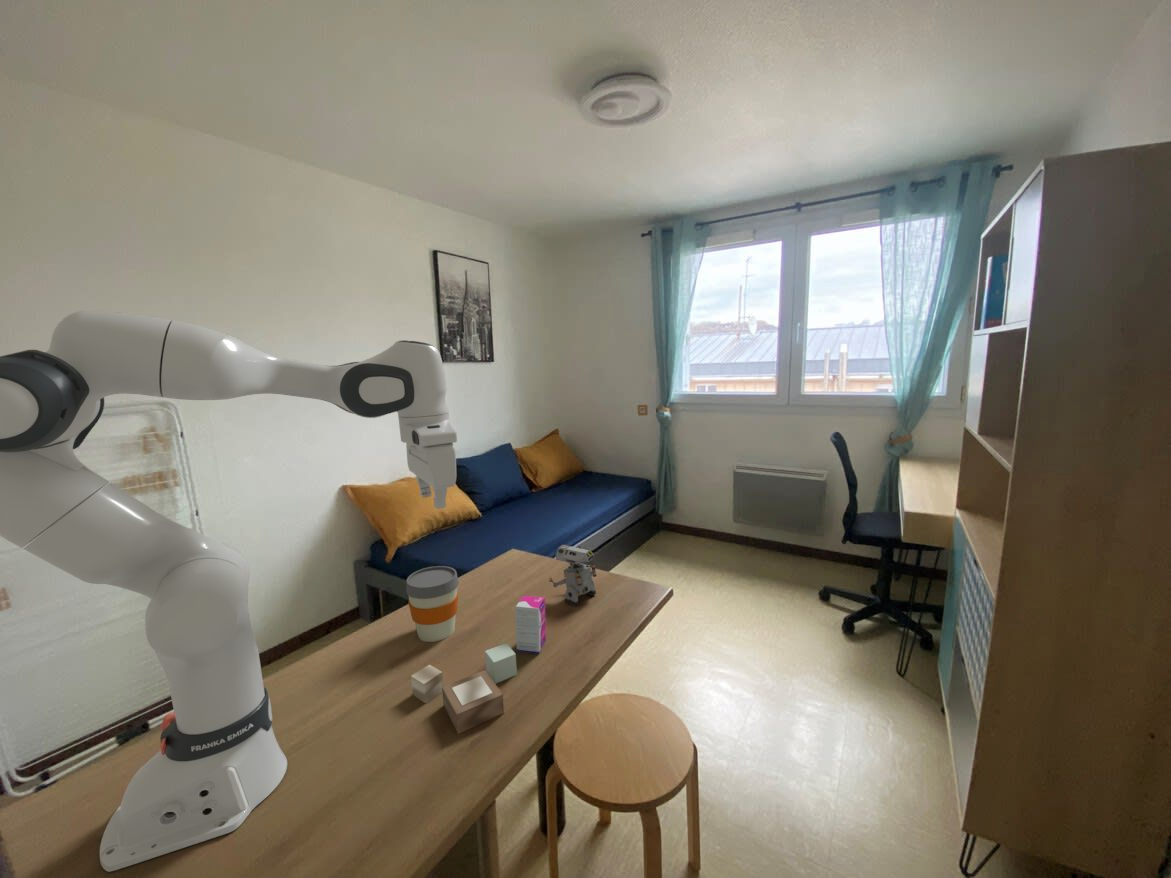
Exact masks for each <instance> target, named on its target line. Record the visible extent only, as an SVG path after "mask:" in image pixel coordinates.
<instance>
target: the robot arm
mask: <svg viewBox="0 0 1171 878" xmlns="http://www.w3.org/2000/svg"><path fill="white" fill-rule="evenodd" d="M446 392H447V383H446V374H445V368H444V364H443V360H442V356H441V353H440V351H439V350H438V348H437V347H435V346H434V345H433V344H431V343H427V342H423V341H422V342H421V341H416V340H398V341H395V342H394V343H393V345H391V346H389V347H388V348H387V349H385V350H383V351H382V352H380V353H378V354H376V355H373V356H372V357H369V358H367V359H364V360H362V361H354V362H348V363H343V364H340V365H325V364H318V363H312V362H307V361H301V360H296V359H289V358H285V357H280V356H276V355H273V354H270V353H267V352H265V351H262V350H260V349H258V348H255V347H254V346H252V345H250V344H248V343H246V342H245V341H242V340H241V339H239V338H237V337H235V336H233V335H230V334H227V333H224V332H222V331H218V330H216V329H212V328H209V327H206V326H203V325H198V324H195V323H191V322H185V321H182V320H177V319H170V318H165V317H159V316H152V315H145V314H138V313H128V312H118V311H117V312H116V311H104V310H81V311H76V312H73V313H70V314H68V315H66V316H65V317H64V318H62V320H60V321H59V323H58V324H57V325H56V327H55V328H54V330H53V333H52V336H51V340H50V345H49V348H48V349H47V351H46V352H44V351H42V350H38V349H27V350H22V351H18V352H13V353H9V354H5V355H1V356H0V537H1V538H4V540H6V541H8V542H10V543H12V544H14V545H15V546H18V547H19V548H21V549H22V548H23V550H25V551H27V552H28V553H30V554H31V555H34V556H36V557H38V558H39V559H42V560H44V562H47V563H48V564H50V565H52V566H55V567H56V568H58V569H60V570H62V571H64V572H65V573H67V574H69V575H71V576H73V577H75V578H77V579H78V580H81V581H82V582H85V583H88V584H93V585H108V586H113V587H116V588H120V589H121V588H122V589H123V590H128V591H131V592H135V593H138V594H140V595H142V596H144V597H145V596H146V597H147V598H149V599H150V601H149V603H148V605H147V608H146V611H145V616H144V619H145V620H144V623H145V624H144V625H145V626H144V627H145V635H146V639H147V642H148V644H149V646H150V647H151V648H152V650H154V651H155V654H156V655H155V656H156V657H157V659H158V661H159V663H160V666H161V668H162V669H163V672H164V674H165V677H166V679H167V683H168V687H169V692H170V697H171V701H172V707H173V708H172V709H173V712H169V713H167V714H166V715H165V716H164V717H163V718H162V723H161V725H160V728H161V734H160V739H159V740H160V746H159V748H160V750H159V751H157V753H156V754H155V755H153V757H151V758H150V759H149V760H148V761H147V762H146V763H145V764H143V765H142V766H141V767H140V768H139V769H138V770H137V771H136V772H135V773H134V775H133V777H132V778H131V780H130V781H129V783H128V785H127V787H126V788H125V791H124V793H123V796H122V800H121V803H120V805H119V807H118V808H117V809H116V810H115V812H114V813H113V815H112V816H111V818H110V820H108V823H107V825H106V828H105V829H104V832H103V835H102V838H101V842H100V846H99V862H100V866H101V867H102V869H103V870H104V871H106V872H108V873H110V872H114V871H118V870H121V869H123V868H127V867H130V866H133V865H136V864H139V863H143V862H145V861H148V860H151V859H154V858H157V857H161V856H164V855H166V854H170V853H172V852H175V851H178V850H181V849H184V848H187V847H190V846H193V845H197V844H199V843H202V842H206V841H208V840H211V839H215V838H217V837H221V836H224V835H226V834H229V833H232V832H234V831H235V830H237V829H238V828H239V827H240V826H241V825H242V824H243V822H244V821H245V820H246V819H247V817H249V815H250V813H251V812H252V811H253V810H254V809H255V808H256V807H257V806H258V805H259V804H260V803H262V802H263V801H264V800H265V799H267V797H268V796H269V795H270V794H272V793H273V791H275V789H276V788H277V787H278V786H279V784H280V783H281V782H282V780H283V779H284V776H285V774H286V772H287V769H288V759H287V757H286V755H285V753H284V752H283V750H282V749H281V747H280V745H279V743H278V740H277V738H276V735H275V733H274V729H273V726H272V724H273V722H272V721H273V711H272V704H271V697H270V696H269V692H268V690H267V688H266V687H265V686H264V680H263V672H262V665H261V660H260V654H259V648H258V645H257V642H256V639H255V635H254V632H253V631H254V630H253V627H252V621H251V617H250V611H249V580H250V567H249V564H248V562H247V560H246V559H245V557H244V555H243V554H242V553H241V551H239V550H238V549H237V548H236V547H234V546H233V545H230V544H228V543H225V542H219V541H217V540H215V539H213V538H211V537H209V536H208V535H205V534H202V533H200V532H198V531H196V530H193V529H191V528H189V527H187V526H185V525H182V524H180V523H178V522H176V521H173V520H171V518H168V517H166V516H164V515H162V514H161V513H159V512H157V511H156V510H154V509H153V508H151V507H150V506H148V505H146V504H145V503H143V502H142V501H140V500H139V499H137V498H135V496H132V495H131V494H129V493H127V492H126V491H124V490H123V489H122V488H120V487H118V486H117V485H115V484H113V483H112V482H110V480H108V479H106V478H104V477H103V476H101V475H100V474H98V473H97V472H95V471H93V470H92V469H90V468H89V467H87V466H86V465H85V464H84V463H82V462H81V461H80V460H79V459H78V458H77V456H76V455H75V451H74V450H76V449H77V448H80V446H81V445H82V443H83V442H84V441H85V439H86V438H87V436H88V435H89V434H90V432H91V431H92V429H93V428H94V427H95V426H96V424H98V421H99V420H100V418H101V416H102V414H103V412H104V409H105V397H108V396H113V395H119V394H122V395H123V394H126V395H128V394H129V395H139V396H140V395H142V396H149V397H158V398H166V399H174V400H185V401H186V400H187V401H220V400H231V399H235V398H241V397H246V396H252V395H263V394H264V395H265V394H267V395H269V394H272V395H282V396H283V395H284V396H291V397H297V398H298V397H299V398H305V399H313V400H320V401H325V402H327V403H329V404H333V405H335V406H336V407H338V408H340V409H342V410H343V411H345V412H347V413H350V414H353V415H355V416H358V417H361V418H366V419H376V418H380V417H384V416H386V415H389V414H393V413H397V417H398V423H399V425H398V427H399V434H400V442H402V443H403V444H404V443H406V444H405V445H406V459H407V460H406V461H407V462H406V463H407V467H408V470H409V472H411V473H412V474H414V475H416V480H417V484H418V486H419V493H420V496H421V497H422V498H429V497H431V496H432V491H433V495H434V496H433V506H434V507H435V508H436V509H437V510H441V509H445V508H446V506H447V501H446V499H447V493H448V488H451V487H454V486H455V485H456V482H457V458H456V457H457V456H456V454H457V453H456V447H455V444H454V443H457V442H458V435H457V431H456V429H455V428H454V427H453V426H452V423H451V420H450V414H449V408H448V406H447V403H446V394H447V393H446ZM431 487H432V488H431Z"/></svg>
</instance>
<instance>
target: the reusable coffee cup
mask: <svg viewBox="0 0 1171 878" xmlns="http://www.w3.org/2000/svg"><path fill="white" fill-rule="evenodd" d="M406 578H407V579H406V595H407V596H408V607H409V612H410V615H411V619H412V621H413V622H414V623H415V624H414V625H415V629H416V633H417V636H418V638H419V640H420V641H423V642H429V643H430V642H431V643H432V642H439V641H443V640H444V639H446V638H448V637H450V636H451V635H453V634H454V632H455V628H456V615H457V613H458V610H459V609H458V605H459V591H458V586H459V584H460V582H459V578H458V573H457V570H456V569H455V568H453V567H451V566H445V565H441V566H440V565H437V566H428V567H424V568H421V569H418V570H416V571H414V572H412V573H411V574H410V575H409V576H408V577H406Z"/></svg>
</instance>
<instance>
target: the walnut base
mask: <svg viewBox="0 0 1171 878" xmlns="http://www.w3.org/2000/svg"><path fill="white" fill-rule="evenodd" d="M442 702H443V703H442V704H443V707H444V708H445V711H446V713H447V714H448V717H449V719H450V721H451V723H452V724H453V726H454V728H455V730H456V732H457V734H458V735H459V734H461V733H463V732H466V731H468V730H470V729H472V728H474V727H477V726H479V725H481V724H483V723H485V722H487V721H490V720H491V719H494V718H496V717H498V716H500V715H504V713H505V709H504V707H505V706H504V694H503V692H501V690H500V688H499V687H498V685H497V683H496V684H495V682H494V681H493V680H492V678H491V677H490V675H489V674H488V673H487V671H486V669H484V670H481V671H479V672H476V673H473V674H472V675H469V676H466V677H465V678H464V677H463V678H461V679H458V680H457V681H454V682H451V683H449V684H446V685H443V687H442Z"/></svg>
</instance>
